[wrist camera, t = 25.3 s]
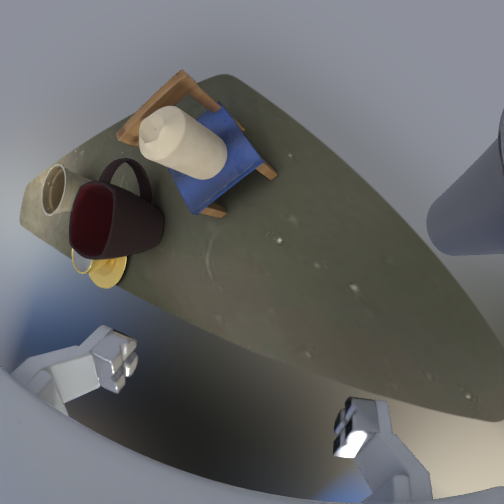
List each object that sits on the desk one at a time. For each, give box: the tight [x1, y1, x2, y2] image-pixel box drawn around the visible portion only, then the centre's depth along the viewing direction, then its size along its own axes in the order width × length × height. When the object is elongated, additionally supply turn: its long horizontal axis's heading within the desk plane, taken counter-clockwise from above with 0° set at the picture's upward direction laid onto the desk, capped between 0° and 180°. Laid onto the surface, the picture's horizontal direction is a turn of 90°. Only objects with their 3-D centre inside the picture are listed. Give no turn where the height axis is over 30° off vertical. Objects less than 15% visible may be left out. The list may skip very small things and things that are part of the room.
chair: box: [116, 70, 278, 218], centre depth 33 cm, size 10×10×15 cm
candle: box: [139, 106, 227, 180], centre depth 28 cm, size 6×6×10 cm
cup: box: [72, 248, 127, 288], centre depth 46 cm, size 12×12×5 cm
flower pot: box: [41, 164, 92, 216], centre depth 48 cm, size 9×9×9 cm
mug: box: [69, 158, 164, 260], centre depth 39 cm, size 10×14×12 cm
